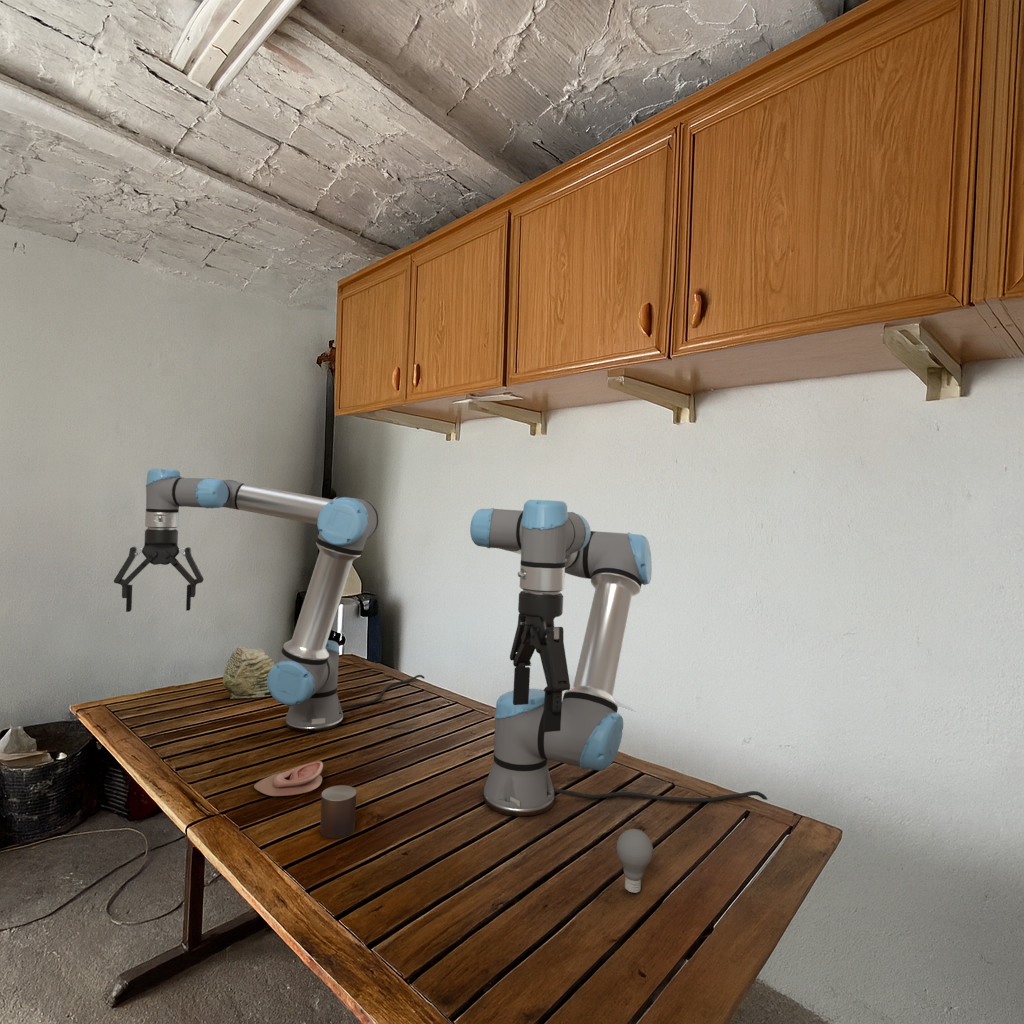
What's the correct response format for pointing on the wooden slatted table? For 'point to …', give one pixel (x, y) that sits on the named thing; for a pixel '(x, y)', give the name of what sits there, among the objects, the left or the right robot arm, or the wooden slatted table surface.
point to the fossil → (248, 673)
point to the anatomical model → (292, 781)
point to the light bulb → (634, 857)
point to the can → (338, 811)
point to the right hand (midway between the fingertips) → (535, 716)
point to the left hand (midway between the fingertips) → (158, 610)
